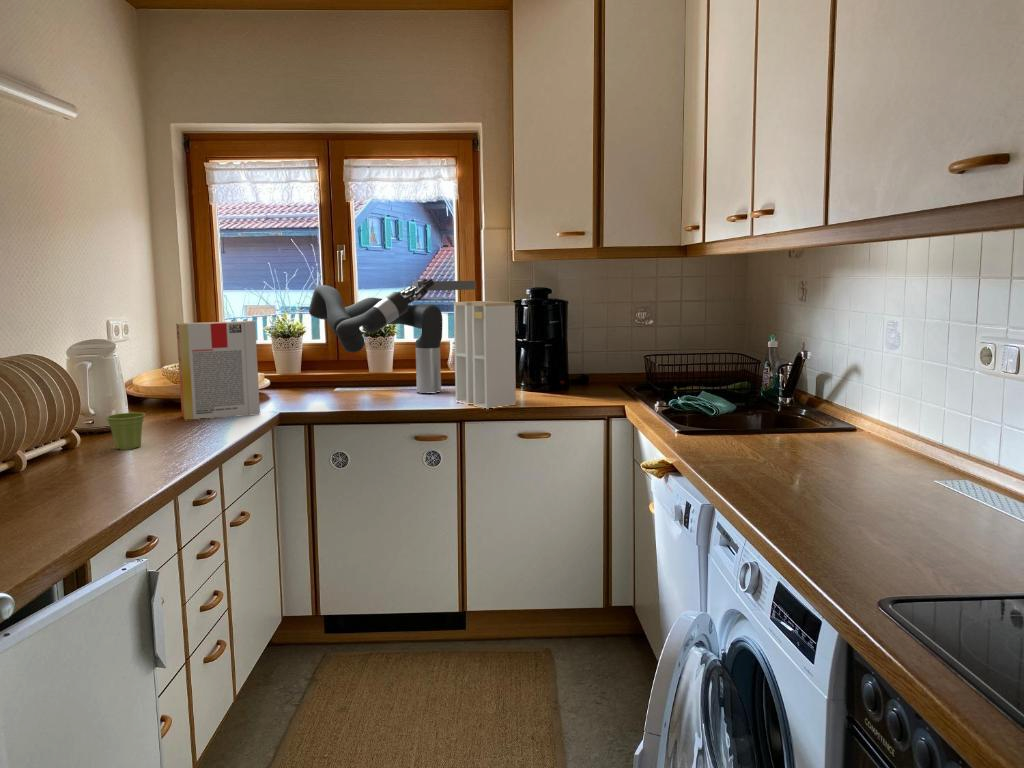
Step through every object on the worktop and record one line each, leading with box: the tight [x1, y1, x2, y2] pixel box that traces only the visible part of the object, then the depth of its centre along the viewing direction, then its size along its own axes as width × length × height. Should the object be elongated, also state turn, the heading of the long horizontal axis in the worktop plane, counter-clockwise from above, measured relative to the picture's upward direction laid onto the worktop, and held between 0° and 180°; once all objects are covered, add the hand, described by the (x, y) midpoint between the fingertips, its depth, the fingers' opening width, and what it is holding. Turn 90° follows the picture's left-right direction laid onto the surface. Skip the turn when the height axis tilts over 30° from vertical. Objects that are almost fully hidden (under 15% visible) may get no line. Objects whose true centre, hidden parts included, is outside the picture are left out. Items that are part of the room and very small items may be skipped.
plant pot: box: [105, 412, 146, 451], centre depth 218 cm, size 9×9×9 cm
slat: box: [412, 280, 477, 291], centre depth 277 cm, size 23×3×3 cm, turn 127°
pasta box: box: [175, 320, 261, 420], centre depth 266 cm, size 23×8×30 cm, turn 117°
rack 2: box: [472, 301, 517, 410], centre depth 279 cm, size 12×8×35 cm, turn 127°
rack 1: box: [453, 300, 492, 403], centre depth 288 cm, size 12×8×35 cm, turn 127°
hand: (429, 281), depth 274 cm, fingers closed on slat, 3 cm apart
